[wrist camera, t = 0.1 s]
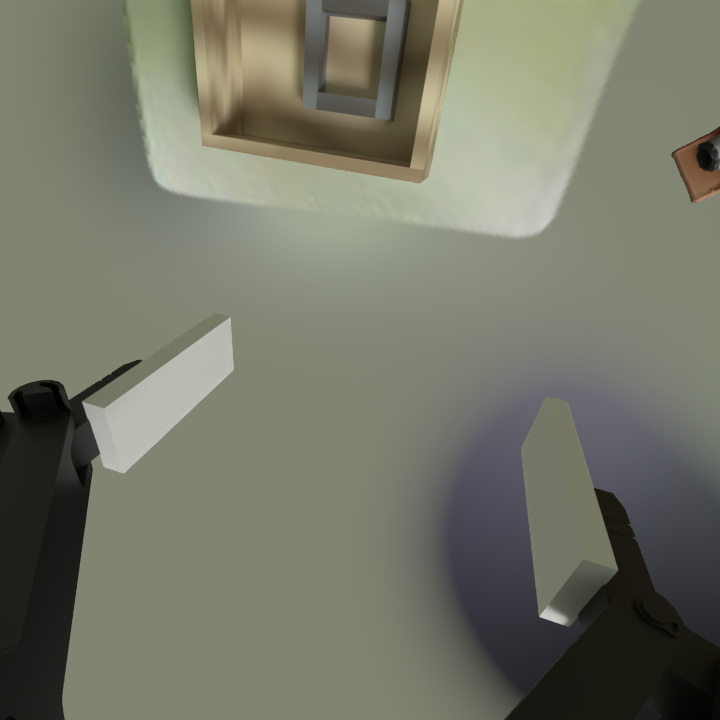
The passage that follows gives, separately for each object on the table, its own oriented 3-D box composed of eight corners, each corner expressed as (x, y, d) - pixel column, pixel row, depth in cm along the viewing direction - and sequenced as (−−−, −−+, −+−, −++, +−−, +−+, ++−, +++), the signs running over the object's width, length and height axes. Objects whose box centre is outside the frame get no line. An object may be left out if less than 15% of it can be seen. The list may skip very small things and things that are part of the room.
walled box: (227, -117, 30) (176, -166, 25) (484, -105, 27) (484, -158, 22) (237, 143, 40) (202, 145, 35) (428, 176, 37) (419, 183, 32)
